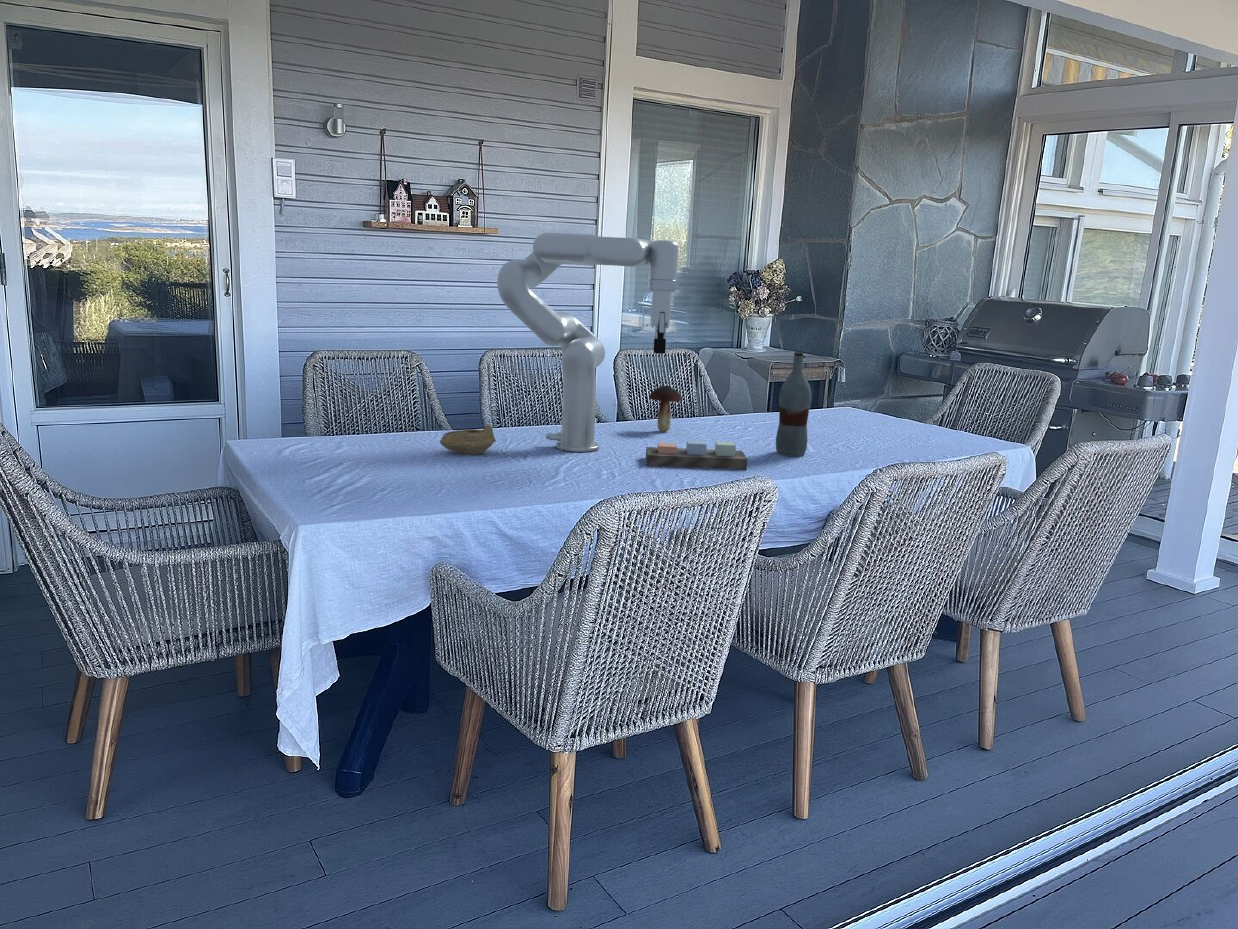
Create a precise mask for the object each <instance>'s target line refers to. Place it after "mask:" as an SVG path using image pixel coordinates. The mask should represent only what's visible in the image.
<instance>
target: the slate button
mask: <svg viewBox="0 0 1238 929" xmlns="http://www.w3.org/2000/svg"><path fill="white" fill-rule="evenodd" d="M685 449H686V454H687V455H706V449H707V443H706V441H705V440H698V439H697V440H696V439H695V440H692V439H687V440H686V446H685Z"/></svg>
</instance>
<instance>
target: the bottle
mask: <svg viewBox="0 0 1238 929" xmlns="http://www.w3.org/2000/svg"><path fill="white" fill-rule="evenodd" d="M804 353H805V352H802V351H794V353H793V354H794V355H793V364H792V371H791V372H790V373H789V375H788V376H787V378H786V380H784V382H782V385H781V388H780V391H779V397H778V402H779V404H778V406H779V407H778V410H779V412H778V413H779V414H778V415H779V416H778V417H779V418H778V419H779V420H778V421H779V422H778V427H777V432H776V437H775V449H776V453H777V454H778V455H781V456H786V457H804V455H805V453H806V451H807V446H808V443H809V442H808V426H807V425H808V418H809V413H810V407H811V403H812V390H811V385H810V383H809V382H808V380H807V378H806V376H805V373H804V372H803V361H804Z"/></svg>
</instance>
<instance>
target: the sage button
mask: <svg viewBox="0 0 1238 929" xmlns="http://www.w3.org/2000/svg"><path fill="white" fill-rule="evenodd" d="M736 445H737V444H735V442H734V441H719V440H715V445H714V450H715V455H716V456H735V451H737V450H736V448H737V446H736Z"/></svg>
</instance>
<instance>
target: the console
mask: <svg viewBox="0 0 1238 929" xmlns="http://www.w3.org/2000/svg"><path fill="white" fill-rule="evenodd" d="M645 449H646V450H645V460H646V466H647V467H666V468H667V467H668V468H670V467H671V468H688V469H689V468H692V469H694V468H695V469H717V470H718V469H719V470H740V471H741V470H742V471H744V470H745V471H747V470H748V457H747V456H746V454H745V453H744V451H743V450H736V451H735V456H716V455H715V449H709V448H708V449H707V448H706V455H687V454H686V447H685V448H684V447H683V448H680V447H677V454H660V453H657V450H658V446H656V447H653V446H646V448H645Z"/></svg>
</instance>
